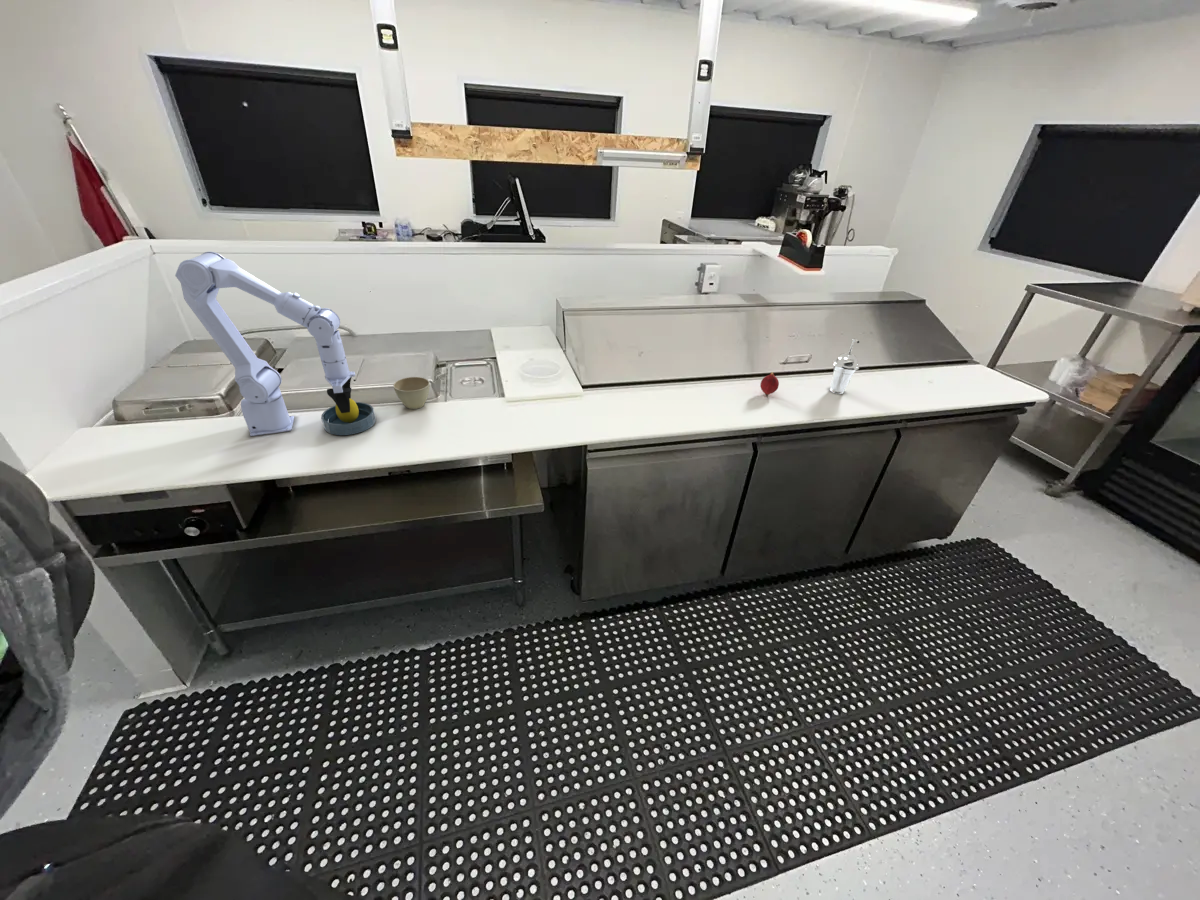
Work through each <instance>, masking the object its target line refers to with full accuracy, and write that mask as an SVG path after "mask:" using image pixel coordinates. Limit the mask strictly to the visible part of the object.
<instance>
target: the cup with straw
mask: <svg viewBox="0 0 1200 900" xmlns="http://www.w3.org/2000/svg"><path fill="white" fill-rule="evenodd" d="M855 343H857V344H859V343H860V341H859V340H858V339H857V338H853V339H852V341H851V344H850V347H849V350H848V352H843V353H841V354H839V355H838V356H837V357H836V358H834V359H833V360H832V365H833V370H832V371H833V372H832V378H831V381H830V385H829V387H830V388H829V391H830V392H831V393H833V394H837V395H843V394H844V392H845V391H846V389H847V387H848V385H849V383H850V381H851V380H852V377H853V376H854V374H855V373H856V371H857V370H859V369H860V363H859V361H858V357H857V356H856V355H855V354H853V353H852V351H853V348H854V345H855Z"/></svg>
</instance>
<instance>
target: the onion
mask: <svg viewBox="0 0 1200 900" xmlns="http://www.w3.org/2000/svg"><path fill="white" fill-rule="evenodd" d="M779 381H780V380H779V379H778V377H777V376H775V373H774V372H773V371H771V372H770V374H768V375H766V376H764V377H763V378H762V379H761V380H760V386H759V387H760V390H761V391H762V392H763V394H764V395H767V396H769V395H771V394H772V395H773V394H775V392H776V391H777V390H778V389H779V385H780V382H779Z"/></svg>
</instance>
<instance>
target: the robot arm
mask: <svg viewBox="0 0 1200 900" xmlns="http://www.w3.org/2000/svg"><path fill="white" fill-rule="evenodd" d="M174 276H175V277H176V279H177V280H178V281H179V283H180V288H181V293H182V297H183V299H184V301H185V303H186V304H187V306H188V307H189V309H190V310H191V311H192V312H193V314H194V316H196V318H197V319H198V320H199V322H200V323H201V324H202V326H203V328H204V329H206V331H207V332H208V334H209V335H210V337H211V338H212V339H213V340H214V342H215V343H216V345H217V346H218V347H219V349H220V350H221V352H222V353H223V354H224V355H225V356H226V358H227V359H228V361H229V362H230V363H231V365H232V366H233V367H234V381H235V383H236V384H237V385H238V388H239V393H240V395H241V396H242V397H243V399H241V401H240V409H241V413H242V416H243V419H244V421H245V424H246V426H247V428H248V431H249V435H250V437H253V436H255V437H256V436H261V435H270V434H277V433H283V432H284V433H285V432H291V431H292V430H293V425H294V421H295V416H294V415H290V414H289V412H288V409H287V406H286V403H285V400H284V397H283V394H282V392H281V389H280V386H281V384H282V383H283V382H282V376H281V374H280V372H279V371H277V369H275V368H274V367H272V366H271V365H270V364H269V363H268V361H267V360H264V359H261V358H259V357H258V356H257V355H256V354H255V352H254V351H253V349H252V348H251V347H250V345H249V344H248V342H247V341H246V339H245V338H244V337H243V335H242V334H241V332H240V331H239V330H238V328H237V327H236V325H235V324H234V323H233V321H232V320H231V318H230V316H228V314H227V313H226V310H224V308H223V307H222V305H221V304H220V303H219V301H218V300H217V296H218V293H219V290H220V289H227V288H230V289H231V288H237V289H238V290H241V291H242V292H245V293H248V294H250V295H251V296H254V297H256V298H257V299H260V300H262V301H264V302H266V303H268V304H271V305H273V306H274V308H275V310H276V312H277V313H278V314H279V315H282V316H283V317H285V318H287V319H289V320H290V321H293V322H295V323H297V324H299V325H301V326H303V327H304V328H306V329H307V331H308V333H309V334H310V335H311V336H312V338H314V339H315V340H314V341H315V344H316V348H317V351H318V355H319V359H320V361H321V365H322V368H323V372H324V379H325V381H326V382H327V383H328V384H329V385H330V387H332V388H327V389H326V394H327V395H328V396H329V397H330V398H331V399H332V400H333V402H334V403H335V405H337V407H338V408H339V410H340V412H341V413H348V412H350V398H351V397H352V387H351V383H352V378H354V377H355V376H356V373H355V371H352V370H351V371H350V368H349V365H348V361H347V356H346V352H345V349H344V344H343V340H342V337H341V333H340V330H339V327H341V326H340V325H341V319H340V317H339V315H338V314H337V313H336V312H335V311H333V310H332V309H331V308H328V307H321V306H319V305H315V304H313V303H311V302H309V301H307V300H306V299H303V298H302V297H301V294H299V293H297V292H294V293H292V292H291V291H286V292H281V291H279V290H278V289H276V288H274V287H273V286H271V285H270V284H268V283H267V282H265V281H263V280H261V279H260V278H258V277H256V276H254V275H253V274H251V273H249V272H248V271H246V270H244V269H243V268H241V267H240V266H239V265H238V264H237V263H236V262H235V261H234V260H232V259H230V258H228V257H225V256H223V255H222V254H220V253H218V252H215V251H205V252H203V253H201V254H200V255H199V254H198V255H197V256H195V257H192V258H189V259H185V260H183V261H181V262H180V263H179V265H178V267H177V269H176V272H175V275H174ZM351 399H352V398H351Z"/></svg>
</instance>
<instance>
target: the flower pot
mask: <svg viewBox="0 0 1200 900" xmlns="http://www.w3.org/2000/svg"><path fill="white" fill-rule="evenodd" d="M430 385H431V383H430V380H429V379H427V378H426V377H421V376H407V377H403V378H400V379H398V380H396V381H395V382H393V385H392V386H393V390H394V392H395V394H396V396H397V398H398V399H399V401H400V402H401V404H403V405H404V406H405V408H407V409H408V410H419V409H421V408H423V407H424V405H425V404H426V402H427V399H428V397H429V393H430Z"/></svg>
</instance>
